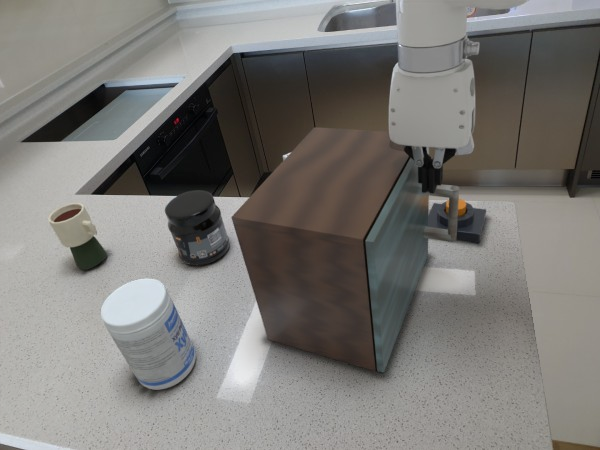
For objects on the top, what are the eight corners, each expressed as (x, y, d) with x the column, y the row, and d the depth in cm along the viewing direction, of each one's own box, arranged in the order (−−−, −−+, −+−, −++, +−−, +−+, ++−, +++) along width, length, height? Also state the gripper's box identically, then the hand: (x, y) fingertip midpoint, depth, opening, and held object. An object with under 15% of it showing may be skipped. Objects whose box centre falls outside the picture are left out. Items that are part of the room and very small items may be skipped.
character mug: (123, 253, 99) (99, 204, 91) (102, 276, 94) (74, 225, 86) (85, 248, 103) (58, 200, 95) (62, 269, 98) (32, 220, 90)
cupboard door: (457, 260, 81) (465, 136, 67) (420, 384, 63) (420, 250, 49) (422, 254, 84) (422, 134, 70) (377, 371, 66) (365, 240, 52)
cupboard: (421, 255, 84) (421, 133, 70) (375, 371, 66) (362, 239, 52) (331, 239, 92) (314, 127, 78) (267, 339, 74) (230, 217, 59)
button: (467, 207, 87) (467, 199, 86) (463, 218, 85) (464, 210, 84) (447, 204, 89) (448, 197, 88) (443, 215, 86) (444, 208, 85)
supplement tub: (205, 371, 71) (175, 305, 62) (145, 404, 68) (105, 338, 59) (186, 332, 78) (157, 267, 69) (131, 359, 75) (94, 295, 66)
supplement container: (187, 237, 100) (169, 191, 93) (234, 232, 99) (220, 185, 92) (175, 270, 92) (154, 222, 85) (226, 265, 90) (210, 216, 83)
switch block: (485, 218, 90) (487, 201, 87) (478, 243, 84) (480, 226, 82) (433, 211, 94) (433, 195, 92) (423, 235, 88) (423, 218, 86)
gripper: (504, 41, 52) (491, 179, 63) (378, 45, 59) (386, 169, 70) (495, 64, 47) (483, 210, 58) (358, 66, 54) (370, 196, 65)
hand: (430, 187), depth 64 cm, fingers closed
